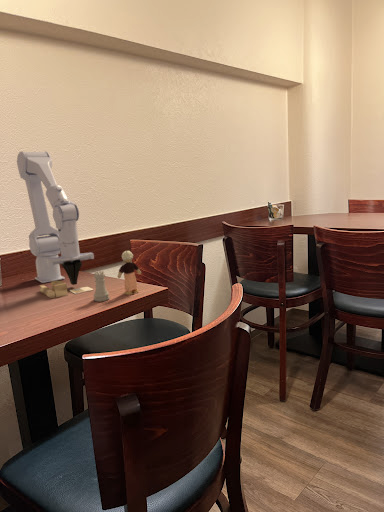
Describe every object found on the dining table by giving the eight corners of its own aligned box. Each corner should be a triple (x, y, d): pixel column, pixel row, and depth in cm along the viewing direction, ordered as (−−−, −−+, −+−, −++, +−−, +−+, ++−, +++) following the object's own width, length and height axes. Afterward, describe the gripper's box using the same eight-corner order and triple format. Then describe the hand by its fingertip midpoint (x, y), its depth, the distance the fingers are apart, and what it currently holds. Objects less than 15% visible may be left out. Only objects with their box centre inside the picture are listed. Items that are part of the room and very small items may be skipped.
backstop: (40, 291, 127) (39, 285, 127) (43, 290, 128) (43, 284, 128) (51, 298, 118) (50, 292, 118) (55, 297, 119) (54, 291, 118)
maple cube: (52, 295, 122) (51, 283, 121) (63, 292, 124) (62, 281, 123) (56, 297, 119) (54, 285, 118) (67, 294, 121) (66, 283, 120)
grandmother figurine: (135, 289, 123) (131, 248, 121) (144, 290, 121) (140, 249, 118) (116, 295, 117) (112, 252, 115) (125, 297, 115) (121, 253, 112)
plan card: (69, 290, 125) (69, 290, 125) (87, 287, 129) (87, 286, 129) (74, 294, 121) (74, 293, 121) (93, 289, 125) (93, 289, 125)
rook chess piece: (106, 302, 111) (103, 274, 110) (91, 302, 112) (88, 274, 111) (112, 297, 116) (109, 270, 114) (97, 297, 116) (95, 270, 115)
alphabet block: (62, 289, 128) (61, 280, 127) (62, 292, 125) (61, 282, 124) (52, 290, 127) (51, 281, 127) (51, 293, 124) (50, 283, 124)
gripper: (49, 246, 120) (55, 290, 122) (95, 240, 128) (100, 281, 131) (42, 244, 126) (48, 286, 128) (87, 238, 134) (91, 278, 136)
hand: (73, 284), depth 130 cm, fingers closed
